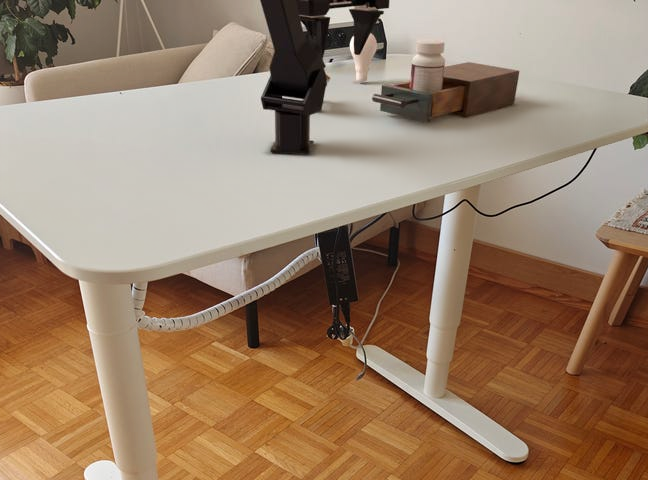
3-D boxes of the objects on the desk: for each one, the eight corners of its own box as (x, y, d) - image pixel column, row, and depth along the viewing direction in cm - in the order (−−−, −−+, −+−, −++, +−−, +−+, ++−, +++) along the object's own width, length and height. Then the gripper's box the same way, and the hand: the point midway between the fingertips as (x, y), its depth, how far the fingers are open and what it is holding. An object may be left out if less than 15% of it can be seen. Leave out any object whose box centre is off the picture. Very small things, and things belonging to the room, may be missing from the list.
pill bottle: (413, 100, 135) (419, 37, 129) (444, 103, 133) (451, 40, 127) (403, 106, 131) (409, 42, 125) (434, 110, 129) (442, 44, 122)
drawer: (408, 126, 123) (410, 98, 120) (362, 114, 130) (363, 88, 127) (476, 109, 134) (479, 83, 132) (430, 99, 141) (433, 74, 139)
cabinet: (465, 117, 132) (470, 81, 129) (415, 106, 140) (418, 71, 136) (514, 104, 142) (519, 70, 138) (464, 94, 149) (468, 61, 146)
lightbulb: (375, 86, 156) (378, 33, 150) (348, 85, 156) (350, 32, 150) (373, 80, 161) (376, 29, 155) (347, 80, 161) (349, 28, 155)
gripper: (347, -51, 120) (343, 46, 128) (265, -48, 109) (267, 57, 118) (394, -48, 113) (388, 54, 122) (312, -45, 103) (311, 66, 111)
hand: (338, 57), depth 118 cm, fingers open, 9 cm apart
